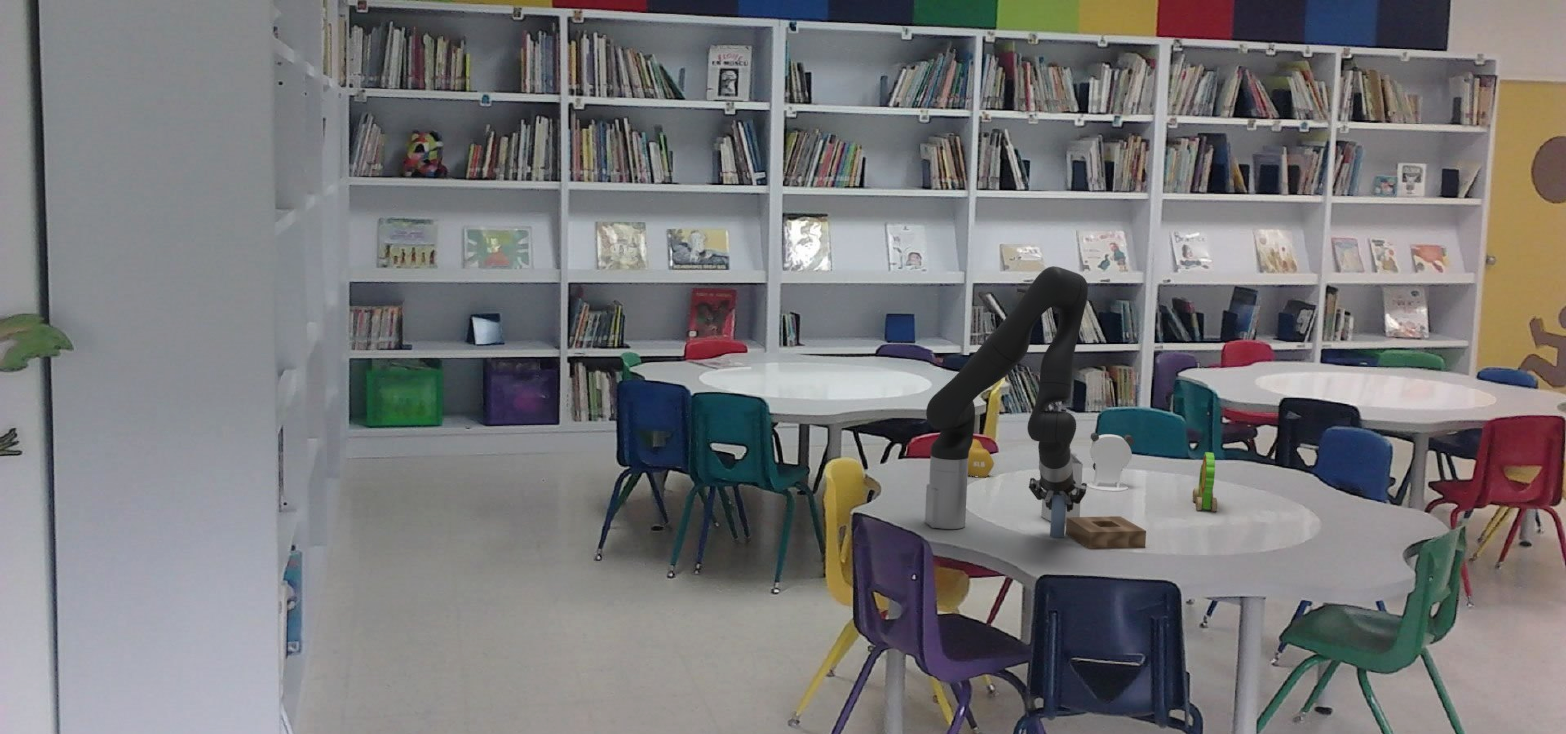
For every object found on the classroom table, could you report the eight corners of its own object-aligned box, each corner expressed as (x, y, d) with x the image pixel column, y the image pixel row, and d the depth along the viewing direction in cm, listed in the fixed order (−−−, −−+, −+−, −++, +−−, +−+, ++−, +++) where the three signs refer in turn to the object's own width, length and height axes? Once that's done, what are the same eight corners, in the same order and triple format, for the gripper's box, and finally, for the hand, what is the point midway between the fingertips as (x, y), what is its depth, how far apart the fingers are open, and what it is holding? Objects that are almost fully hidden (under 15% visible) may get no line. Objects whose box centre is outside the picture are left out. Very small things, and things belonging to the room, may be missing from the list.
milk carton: (1053, 523, 342) (1058, 448, 340) (1040, 516, 349) (1045, 443, 347) (1079, 522, 344) (1084, 448, 342) (1066, 515, 351) (1070, 442, 348)
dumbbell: (953, 464, 412) (954, 437, 411) (983, 465, 412) (984, 438, 411) (962, 478, 393) (964, 449, 392) (994, 478, 393) (995, 450, 392)
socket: (1089, 548, 320) (1090, 532, 319) (1065, 533, 333) (1066, 517, 333) (1145, 547, 322) (1146, 530, 322) (1119, 532, 336) (1120, 516, 335)
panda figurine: (1127, 483, 391) (1130, 432, 389) (1133, 492, 380) (1136, 439, 378) (1084, 481, 393) (1087, 430, 390) (1089, 490, 381) (1092, 437, 379)
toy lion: (1191, 500, 374) (1195, 445, 371) (1212, 501, 372) (1216, 446, 370) (1196, 513, 358) (1200, 456, 356) (1218, 515, 357) (1222, 457, 355)
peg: (1053, 537, 329) (1056, 480, 327) (1047, 534, 332) (1050, 477, 330) (1066, 537, 329) (1069, 480, 327) (1060, 533, 333) (1064, 477, 331)
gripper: (1089, 457, 319) (1091, 497, 332) (1027, 451, 323) (1032, 491, 336) (1085, 484, 314) (1087, 524, 327) (1022, 478, 319) (1028, 517, 332)
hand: (1059, 507), depth 332 cm, fingers open, 3 cm apart
